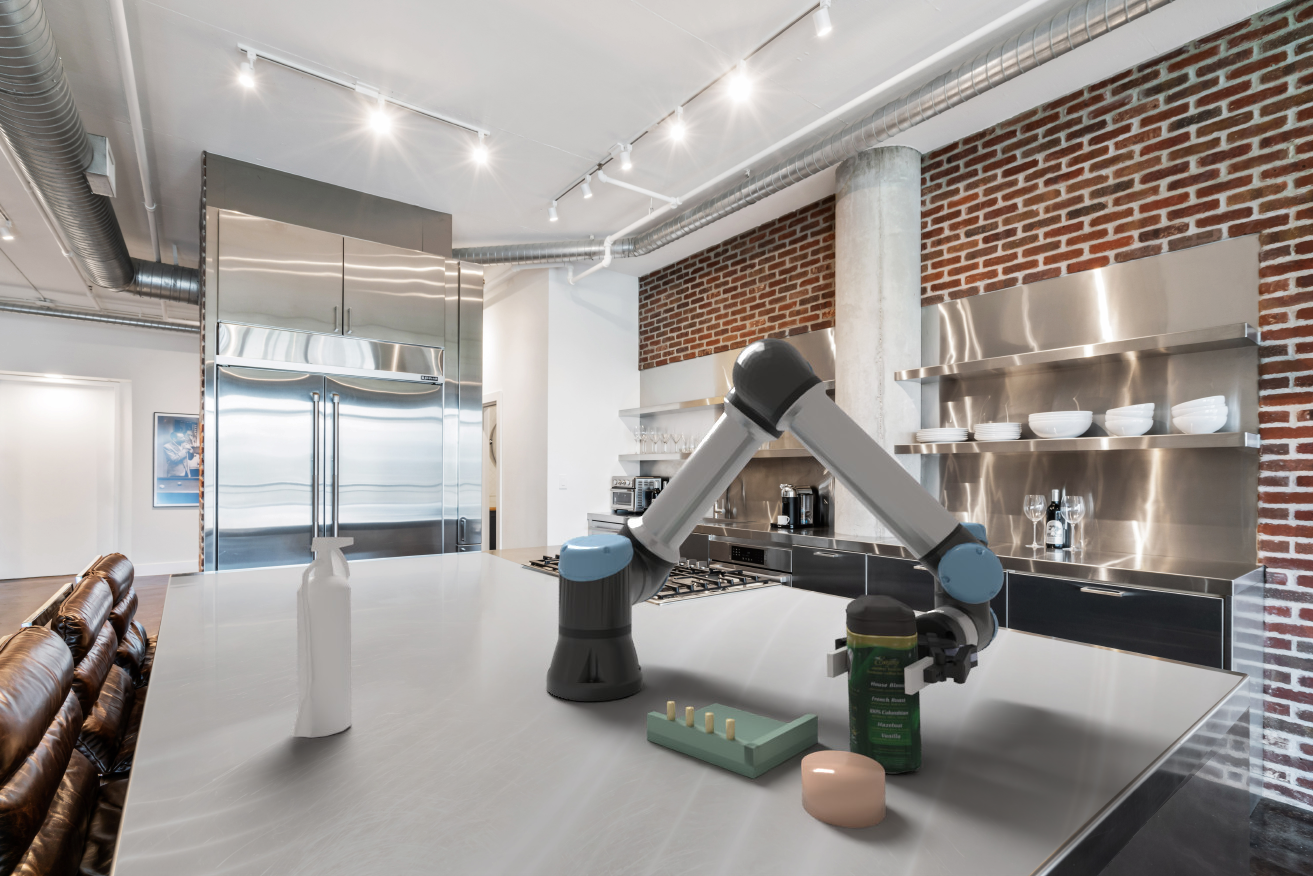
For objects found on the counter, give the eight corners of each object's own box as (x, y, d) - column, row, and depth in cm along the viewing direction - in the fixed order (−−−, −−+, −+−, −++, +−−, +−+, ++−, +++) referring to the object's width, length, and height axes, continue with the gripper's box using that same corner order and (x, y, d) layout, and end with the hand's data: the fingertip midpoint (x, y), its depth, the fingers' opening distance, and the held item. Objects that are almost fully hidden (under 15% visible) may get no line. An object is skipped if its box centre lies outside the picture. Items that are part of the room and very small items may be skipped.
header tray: (647, 739, 82) (647, 697, 82) (715, 711, 92) (715, 673, 92) (753, 778, 71) (753, 729, 71) (817, 742, 81) (817, 699, 82)
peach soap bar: (786, 809, 65) (786, 767, 65) (826, 782, 71) (825, 744, 71) (863, 838, 59) (862, 793, 60) (899, 807, 65) (898, 765, 65)
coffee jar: (929, 779, 70) (921, 605, 72) (852, 773, 72) (846, 603, 74) (915, 745, 80) (908, 591, 81) (847, 740, 82) (842, 589, 83)
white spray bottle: (262, 749, 79) (271, 540, 80) (320, 714, 91) (326, 533, 93) (316, 751, 78) (324, 540, 80) (367, 715, 90) (373, 533, 92)
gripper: (1026, 682, 83) (968, 730, 67) (866, 653, 98) (786, 687, 81) (1023, 622, 84) (965, 655, 67) (865, 602, 98) (785, 626, 82)
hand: (867, 673), depth 74 cm, fingers closed on coffee jar, 9 cm apart
